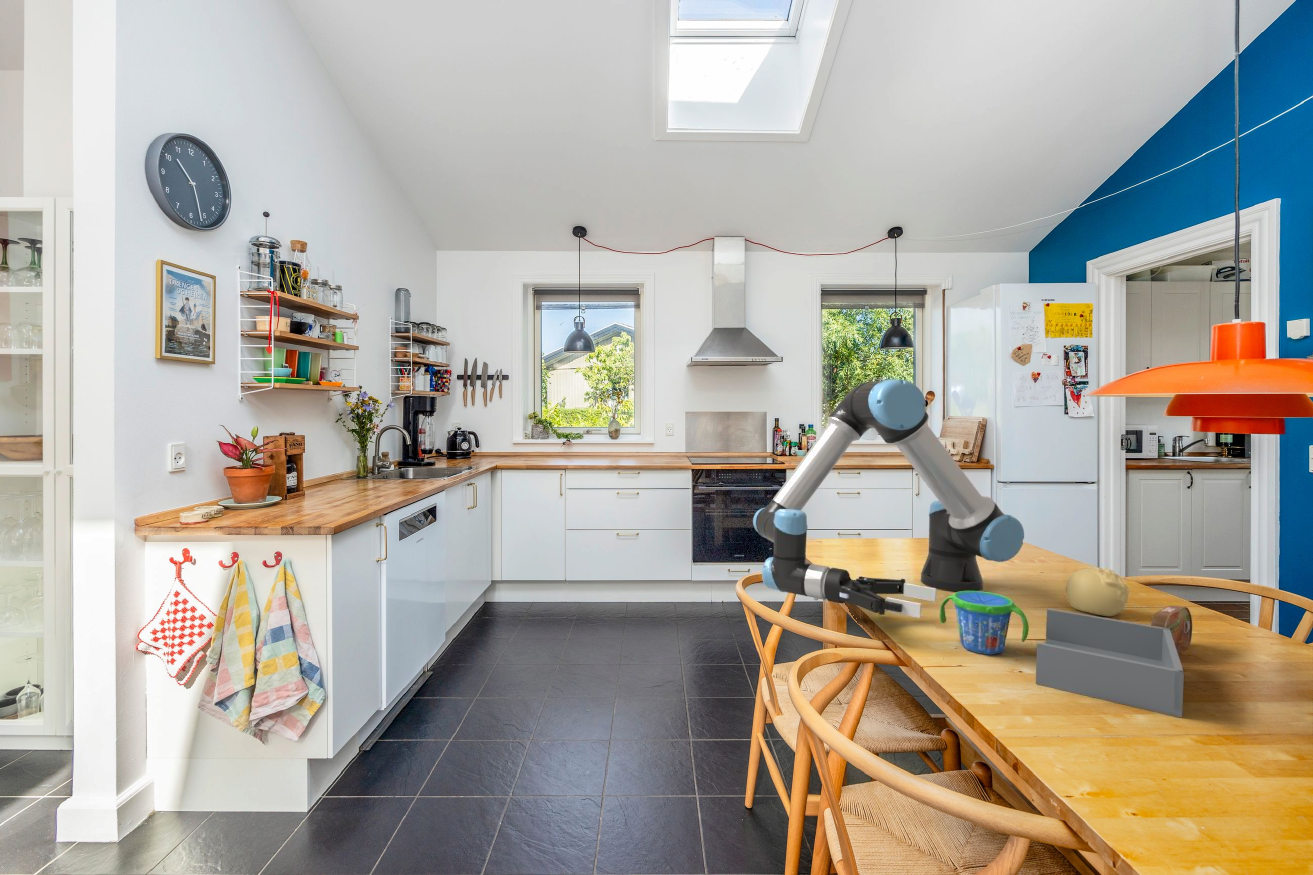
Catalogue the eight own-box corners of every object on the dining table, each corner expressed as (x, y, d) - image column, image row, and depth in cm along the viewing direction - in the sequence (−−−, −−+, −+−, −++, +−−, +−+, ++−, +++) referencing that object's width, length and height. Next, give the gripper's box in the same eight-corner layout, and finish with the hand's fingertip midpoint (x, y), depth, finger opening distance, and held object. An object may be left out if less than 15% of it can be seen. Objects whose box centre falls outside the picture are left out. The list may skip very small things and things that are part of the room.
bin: (1046, 642, 123) (1047, 608, 122) (1168, 665, 111) (1169, 628, 111) (1035, 683, 103) (1037, 643, 103) (1181, 717, 92) (1183, 672, 92)
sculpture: (1134, 623, 134) (1136, 576, 134) (1069, 615, 139) (1071, 569, 139) (1120, 609, 144) (1122, 564, 144) (1061, 601, 150) (1062, 558, 149)
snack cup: (929, 642, 122) (931, 593, 121) (953, 631, 128) (954, 584, 128) (1014, 668, 110) (1015, 613, 109) (1035, 654, 116) (1037, 602, 116)
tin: (1166, 662, 113) (1168, 618, 113) (1145, 656, 116) (1147, 613, 116) (1193, 645, 122) (1195, 604, 121) (1173, 640, 124) (1175, 600, 124)
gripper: (846, 588, 147) (940, 605, 135) (806, 613, 127) (912, 637, 115) (847, 557, 147) (942, 572, 134) (807, 578, 127) (914, 598, 114)
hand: (928, 602), depth 124 cm, fingers open, 13 cm apart
